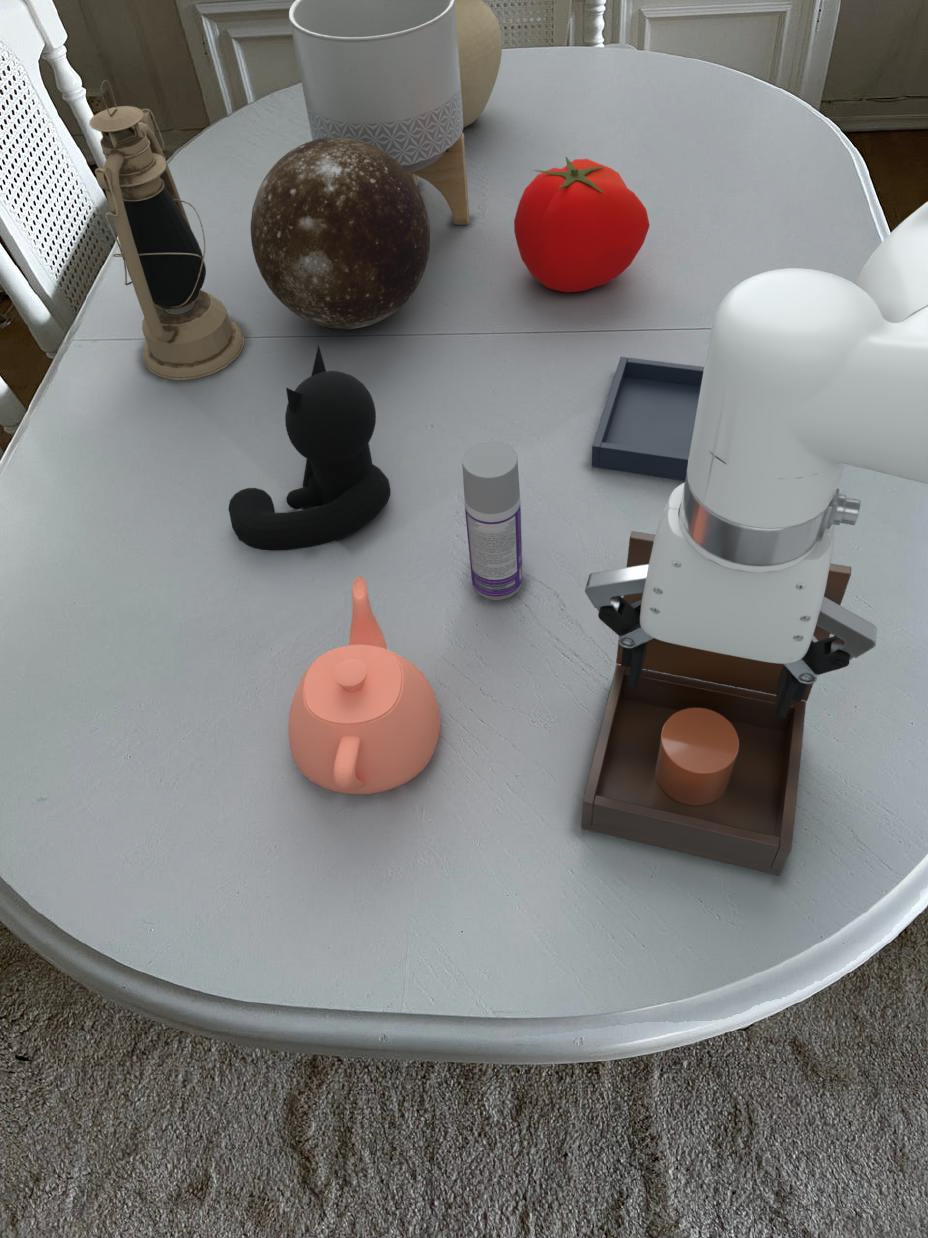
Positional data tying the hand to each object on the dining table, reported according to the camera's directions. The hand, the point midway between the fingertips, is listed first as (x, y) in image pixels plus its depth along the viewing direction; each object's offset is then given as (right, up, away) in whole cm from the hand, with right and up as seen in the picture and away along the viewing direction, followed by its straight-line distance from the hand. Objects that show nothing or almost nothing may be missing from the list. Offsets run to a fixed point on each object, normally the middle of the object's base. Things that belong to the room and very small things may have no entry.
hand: (707, 684), depth 65 cm
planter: (-25, +58, +65) cm, 90 cm away
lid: (+2, +4, +5) cm, 7 cm away
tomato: (-2, +46, +53) cm, 71 cm away
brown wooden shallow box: (+1, -8, +10) cm, 13 cm away
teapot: (-24, -5, +15) cm, 29 cm away
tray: (+8, +23, +34) cm, 42 cm away
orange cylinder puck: (+1, -7, +9) cm, 12 cm away
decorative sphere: (-29, +41, +52) cm, 73 cm away
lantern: (-48, +36, +50) cm, 78 cm away
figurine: (-31, +15, +31) cm, 47 cm away
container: (-13, +8, +24) cm, 29 cm away
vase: (-19, +79, +81) cm, 115 cm away
